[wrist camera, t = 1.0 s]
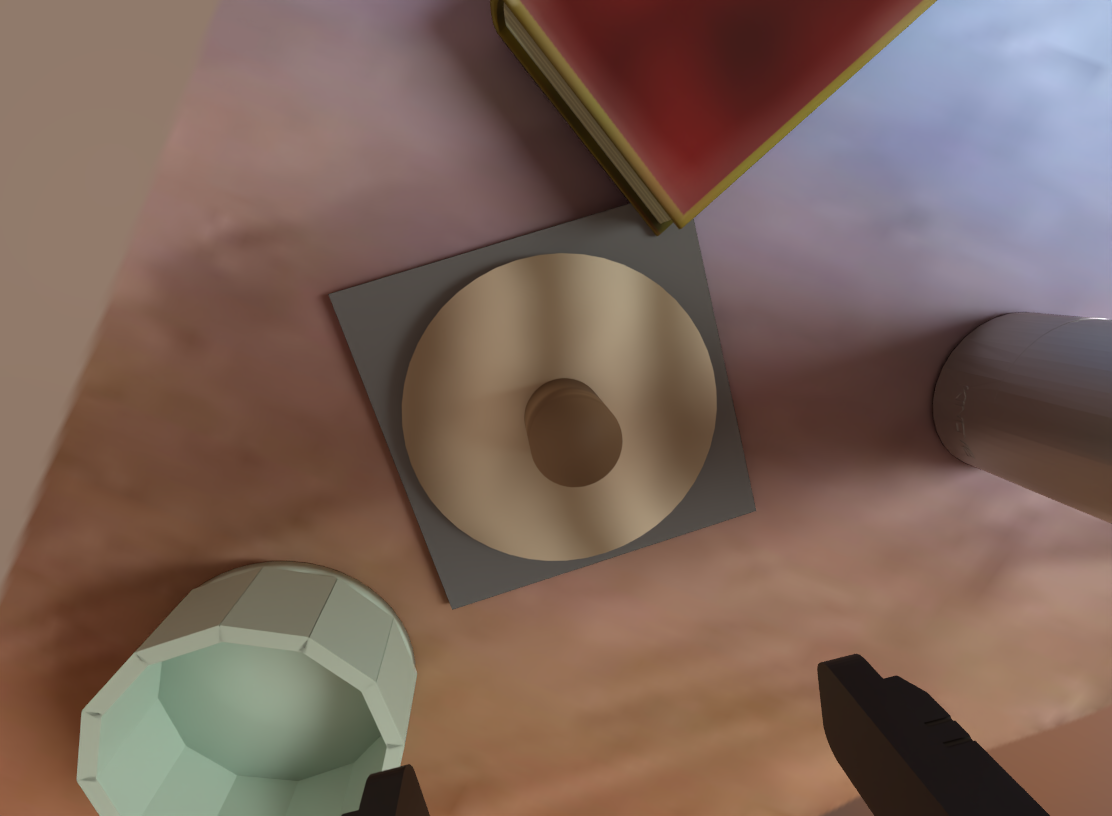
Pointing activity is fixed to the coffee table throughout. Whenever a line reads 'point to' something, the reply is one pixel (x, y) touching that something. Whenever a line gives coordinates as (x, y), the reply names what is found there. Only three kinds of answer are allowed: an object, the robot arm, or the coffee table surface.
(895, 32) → the hardcover book
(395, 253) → the coffee table surface
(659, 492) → the lid
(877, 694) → the robot arm
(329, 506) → the coffee table surface
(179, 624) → the bowl
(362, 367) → the mat
